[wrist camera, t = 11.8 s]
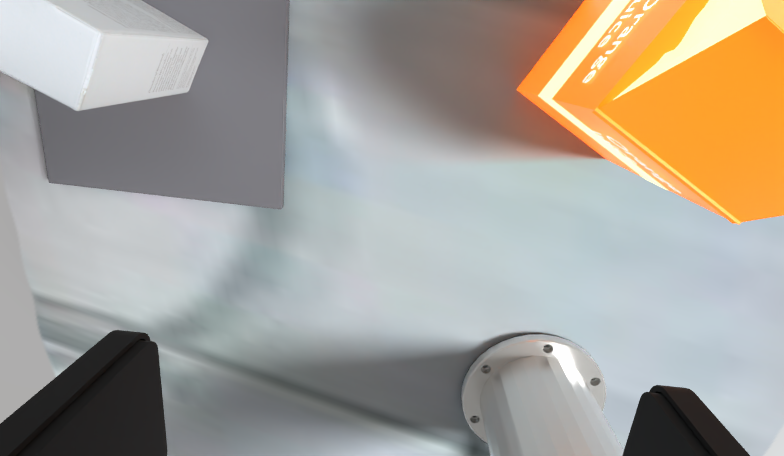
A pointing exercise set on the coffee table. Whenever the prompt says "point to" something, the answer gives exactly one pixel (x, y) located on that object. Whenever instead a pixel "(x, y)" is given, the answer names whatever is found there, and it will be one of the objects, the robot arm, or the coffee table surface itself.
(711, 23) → the orange juice
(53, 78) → the skincare box
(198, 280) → the coffee table surface
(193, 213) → the coffee table surface
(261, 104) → the mat
